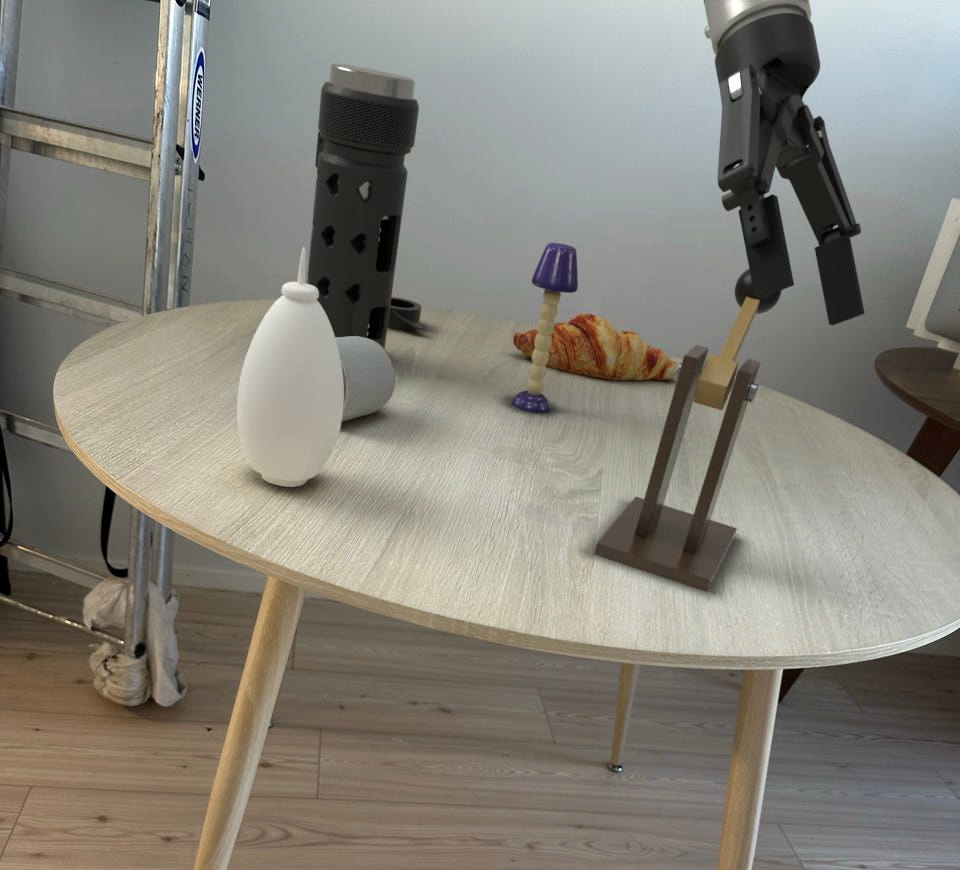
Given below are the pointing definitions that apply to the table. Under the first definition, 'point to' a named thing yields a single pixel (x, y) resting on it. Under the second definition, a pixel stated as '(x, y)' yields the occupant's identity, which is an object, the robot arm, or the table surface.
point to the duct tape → (404, 315)
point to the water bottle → (360, 196)
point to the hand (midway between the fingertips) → (813, 306)
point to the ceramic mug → (364, 376)
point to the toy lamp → (547, 318)
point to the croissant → (600, 351)
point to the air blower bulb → (291, 388)
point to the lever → (731, 346)
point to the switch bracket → (647, 522)
